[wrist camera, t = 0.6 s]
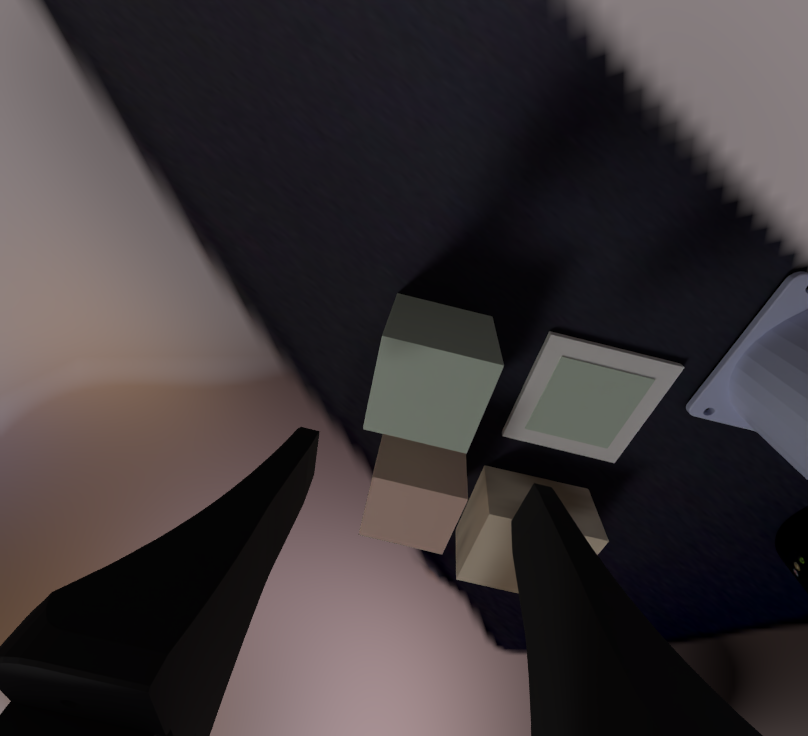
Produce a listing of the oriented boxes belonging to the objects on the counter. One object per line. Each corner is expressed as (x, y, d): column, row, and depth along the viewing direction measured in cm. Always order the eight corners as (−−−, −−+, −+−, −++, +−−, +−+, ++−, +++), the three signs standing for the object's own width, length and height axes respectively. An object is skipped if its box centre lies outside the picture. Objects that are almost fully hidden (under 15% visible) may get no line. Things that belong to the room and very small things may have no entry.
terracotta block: (464, 434, 23) (468, 499, 19) (443, 487, 26) (442, 554, 22) (387, 415, 23) (372, 476, 19) (373, 470, 26) (358, 534, 22)
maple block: (587, 486, 25) (608, 541, 21) (545, 547, 28) (558, 602, 25) (484, 462, 25) (489, 514, 21) (455, 526, 28) (456, 579, 25)
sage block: (492, 315, 19) (504, 365, 15) (463, 392, 22) (466, 453, 17) (397, 292, 19) (382, 335, 15) (380, 372, 22) (362, 429, 17)
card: (680, 363, 19) (685, 368, 19) (612, 458, 23) (615, 464, 22) (549, 331, 19) (551, 335, 19) (501, 431, 23) (502, 437, 22)
